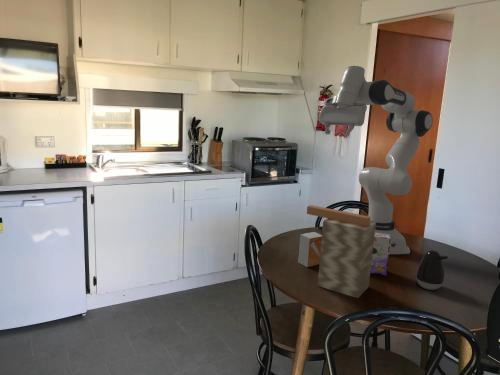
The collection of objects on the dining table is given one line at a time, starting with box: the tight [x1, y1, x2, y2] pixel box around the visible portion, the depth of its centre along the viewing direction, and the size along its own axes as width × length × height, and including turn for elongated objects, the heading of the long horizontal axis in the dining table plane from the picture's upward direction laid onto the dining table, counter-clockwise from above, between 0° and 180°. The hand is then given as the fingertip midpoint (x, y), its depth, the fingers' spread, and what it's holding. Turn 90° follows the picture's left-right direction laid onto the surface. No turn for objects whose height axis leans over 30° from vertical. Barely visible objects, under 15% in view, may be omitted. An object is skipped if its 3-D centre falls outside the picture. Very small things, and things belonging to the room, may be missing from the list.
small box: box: [297, 231, 322, 268], centre depth 182 cm, size 8×6×13 cm
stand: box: [317, 218, 376, 299], centre depth 160 cm, size 16×12×26 cm
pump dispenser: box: [415, 249, 449, 291], centre depth 164 cm, size 10×10×15 cm
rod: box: [306, 204, 370, 226], centre depth 160 cm, size 24×3×3 cm, turn 57°
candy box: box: [370, 233, 391, 276], centre depth 177 cm, size 14×6×16 cm, turn 71°
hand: (336, 134), depth 173 cm, fingers open, 8 cm apart
